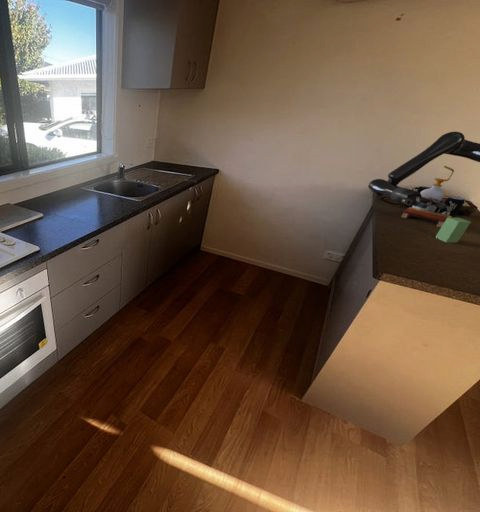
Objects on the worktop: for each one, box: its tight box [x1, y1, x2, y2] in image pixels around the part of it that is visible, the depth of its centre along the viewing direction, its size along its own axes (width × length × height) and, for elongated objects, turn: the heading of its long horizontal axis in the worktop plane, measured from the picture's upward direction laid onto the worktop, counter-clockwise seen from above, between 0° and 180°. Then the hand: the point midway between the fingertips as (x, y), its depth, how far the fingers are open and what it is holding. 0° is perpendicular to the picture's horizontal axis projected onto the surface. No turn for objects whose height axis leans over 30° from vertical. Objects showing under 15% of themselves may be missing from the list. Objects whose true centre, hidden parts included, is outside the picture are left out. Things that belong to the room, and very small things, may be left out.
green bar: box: [435, 217, 472, 243], centre depth 130 cm, size 5×5×10 cm
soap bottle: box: [411, 165, 455, 212], centre depth 160 cm, size 9×9×25 cm
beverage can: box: [436, 195, 466, 218], centre depth 151 cm, size 7×7×12 cm
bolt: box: [458, 204, 476, 216], centre depth 164 cm, size 6×5×15 cm
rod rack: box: [400, 206, 452, 228], centre depth 151 cm, size 16×7×5 cm, turn 28°
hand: (435, 206), depth 136 cm, fingers open, 8 cm apart
